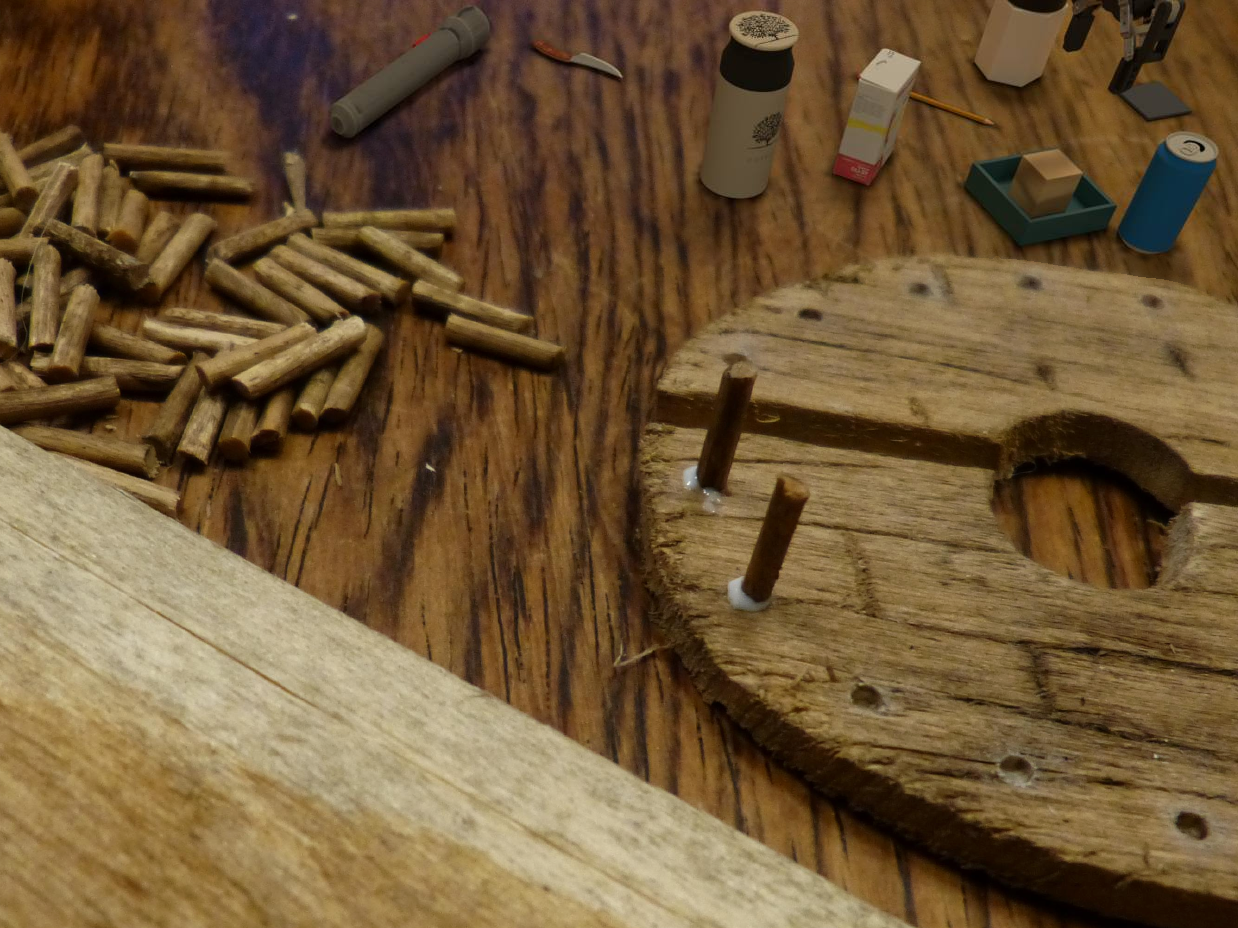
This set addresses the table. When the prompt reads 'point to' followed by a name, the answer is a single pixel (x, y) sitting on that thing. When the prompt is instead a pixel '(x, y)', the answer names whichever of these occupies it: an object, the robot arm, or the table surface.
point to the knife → (575, 58)
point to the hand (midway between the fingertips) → (1093, 70)
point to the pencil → (948, 107)
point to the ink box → (875, 115)
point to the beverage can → (1168, 192)
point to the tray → (1081, 216)
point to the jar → (1019, 39)
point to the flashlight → (411, 71)
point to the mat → (1154, 101)
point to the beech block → (1044, 183)
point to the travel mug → (749, 104)
